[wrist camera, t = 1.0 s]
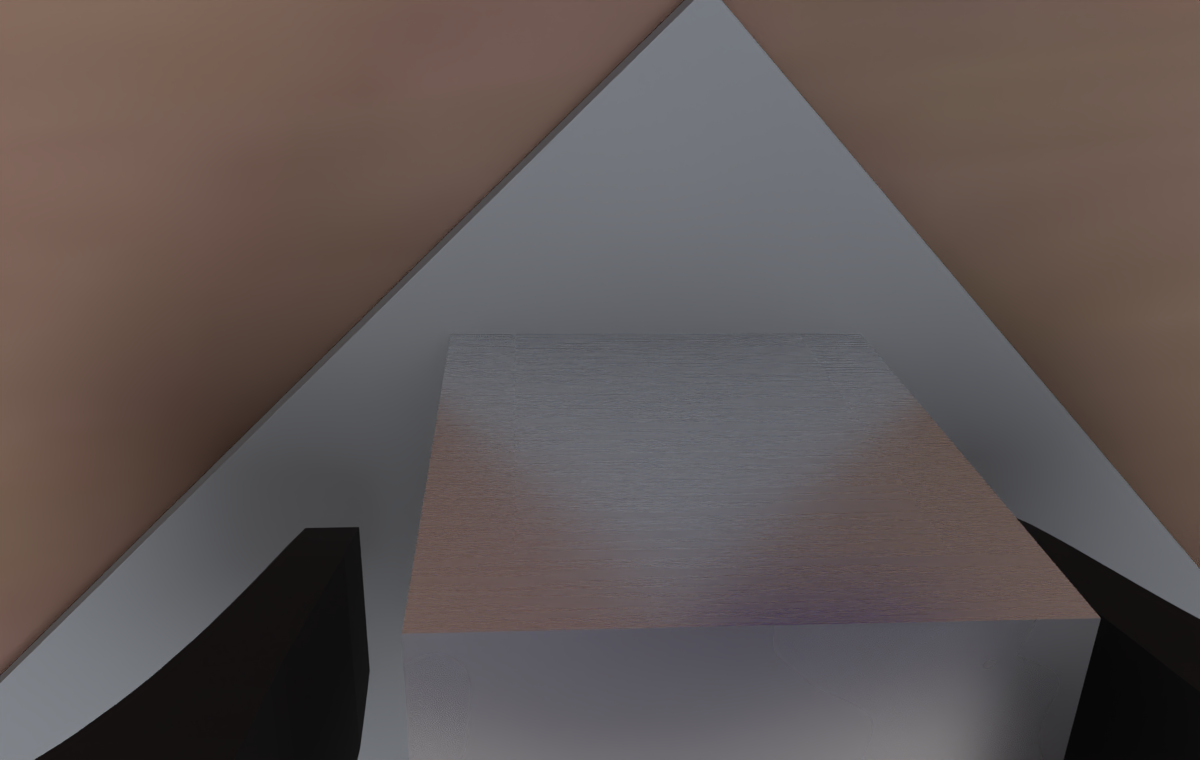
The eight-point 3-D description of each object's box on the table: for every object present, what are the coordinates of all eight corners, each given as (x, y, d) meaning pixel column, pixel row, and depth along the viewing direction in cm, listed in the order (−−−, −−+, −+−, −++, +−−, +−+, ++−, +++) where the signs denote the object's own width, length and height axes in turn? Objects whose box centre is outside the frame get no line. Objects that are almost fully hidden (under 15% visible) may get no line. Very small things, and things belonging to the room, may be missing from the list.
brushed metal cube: (860, 333, 13) (1100, 619, 8) (815, 663, 15) (980, 1070, 10) (449, 334, 13) (402, 633, 7) (460, 672, 15) (428, 1103, 10)
